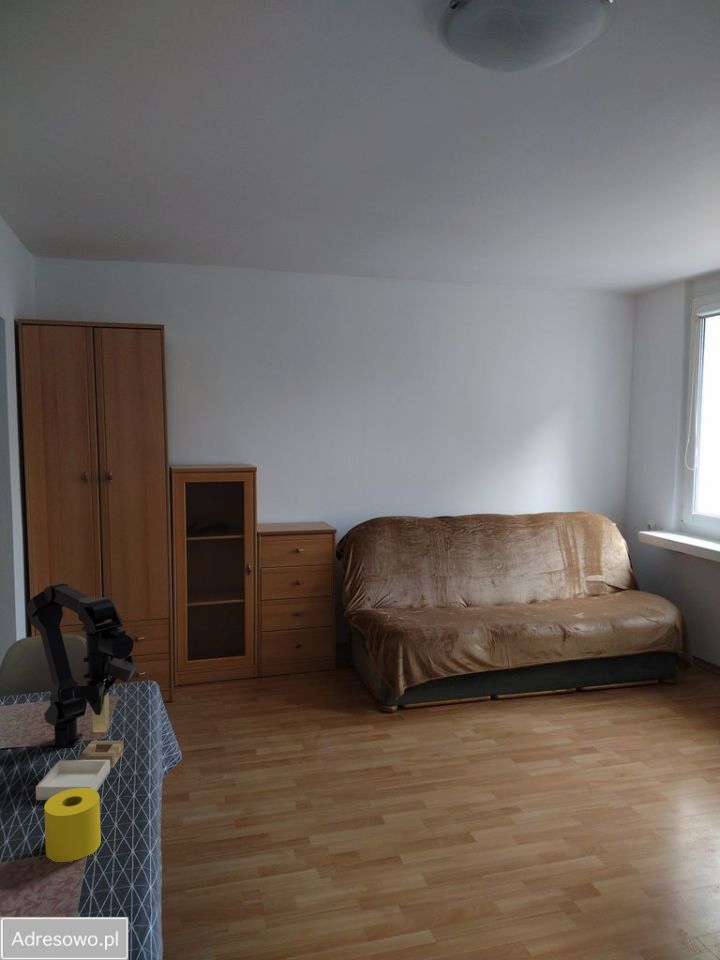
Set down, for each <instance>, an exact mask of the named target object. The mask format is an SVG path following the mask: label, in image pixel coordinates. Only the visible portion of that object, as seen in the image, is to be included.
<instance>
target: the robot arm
mask: <svg viewBox="0 0 720 960" xmlns="http://www.w3.org/2000/svg"><path fill="white" fill-rule="evenodd" d="M64 608H66V609H68V610H70V611H72V612H74V613H76V614H77V619H78V621H80V622H81V623H82V624H83V626H82V627H81V631H82V632H85V649H86V655H85V656H84V657H83V663H85V662H86V672H85V673H84V674H83V677H84V679H88V680H81V681H80V682H78V681H77V680H75V679H74V677H73V672H72V670H71V669H72V668H71V665H70V662H69V658H68V654H67V650H66V647H65V646H66V645H65V643H64V637H63V634H62V630H61V622H62V620H63V617H64V610H63V609H64ZM25 612H26V615H27V617H28V619H29V621H30V624H31V626H33V627H34V628H35V629H36V630H37V631H38V632H39V633H40V637H41V641H42V646H43V650H44V653H45V657H46V661H47V666H48V668H49V672H50V673H49V674H50V676H51V681H52V684H53V685H52V686H53V687H52V689H51V692H50V695H49V702H50V705H49V707H48V708H47V710H45V712H44V713H43V715H44V716H43V717H44V720H45V723H47V724H49V725H52V726H53V739H52V740H51V742H50V743H49V744H48V746H49V747H51V748H52V747H53V748H54V747H58V748H59V747H64V748H65V747H75V745H77V743H78V742H79V741H80V740H81V739H82V737H83V736H84V734H83V733H79V732H78V728H79V727H78V718H80V717H84V716H86V712H87V705H88V704H89V706H90V708H91V709H93V711H94V713H95V714H96V715H100V714H101V709H102V701H103V694H104V693H105V692H109V693H110V691H111V689H112V686H113V685H114V684H115V683H116V682H117V680H120V681H121V682H122V683H128V682H129V681H130V679H132V677H133V675H134V672H135V669H136V668H137V662H136V660H135V655H132V654H131V653H132V652H133V649H134V641H133V639H132V637H131V636H129V635H127V634H126V629H123V628H122V627H123V622H122V617H121V616H120V614H119V612H118V610H117V607H116V605H115V603H114V602H113V601H112V600H111V599H110V598H109V597H104V596H90V595H87V594H84V593H83V592H80V591H79V590H77V589H74V588H72V587H70V586H69V585H68V584H67V583H65V582H61V583H56V584H50V585H48V586H46V587H45V588H44V590H42V591H41V592H39V593H38V594H36V595H35V596H33V597H32V598H31V599H29V601H28V603H26V606H25Z"/></svg>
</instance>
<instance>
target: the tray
mask: <svg viewBox="0 0 720 960" xmlns="http://www.w3.org/2000/svg"><path fill="white" fill-rule="evenodd" d="M110 773H111V768H110V760H79V759H59V760H58V761H56V763H54V765H53V767H51V769H50V770H49V771H48V772H47V773H46V775H45V776H44V777H43V778H42V779H41V780H40V781H39V782H38V784H37V785H36V786H35V800H36V801H48V800H49V799H50V798H51V797H52V796H54V795H56V794H58V793H60V792H63V791H65V790H69V789H74V788H90V789H93V790H96V791H97V792H98V790H99V789H100V788H101V786H102V785H103V783H104V782H105V780H106V779H107V778H108V776H109V775H110Z"/></svg>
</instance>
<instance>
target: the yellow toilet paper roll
mask: <svg viewBox="0 0 720 960" xmlns="http://www.w3.org/2000/svg"><path fill="white" fill-rule="evenodd" d="M100 801H101V799H100V794H99V792H98V791H96V790H93V789H90V788H74V789H69V790H65V791H63V792H60V793H58V794H56V795H54V796H52V797H51V798H50V799H49V800H46V801H45V804H44V831H45V832H44V834H45V855H46V858H47V857H48V858H49V859H51V860H53V861H59V862H66V861H73V860H77V859H80V858H82V857H85V856H88V855H89V856H91V855H93V854H94V853H96V851H97V850H98V849H99V848H100V845H101V842H102V841H101V839H102V838H101V805H100V804H101V803H100ZM90 854H91V855H90ZM89 856H88V857H89ZM48 858H47V859H48ZM49 859H48V860H49ZM51 860H50V861H51ZM53 861H52V862H53Z"/></svg>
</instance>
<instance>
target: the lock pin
mask: <svg viewBox="0 0 720 960" xmlns="http://www.w3.org/2000/svg"><path fill="white" fill-rule="evenodd" d="M109 696H110V692H105V693H104V694H103V701H102V709H101V714H100V715H96V714H95V713H94V711H93V709H92V708H91V709H92V710H91V711H92V714H91V715H92V732H93V733H106V732H107V731H108V729H109V728H110V726H111V725H110V698H109Z"/></svg>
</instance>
